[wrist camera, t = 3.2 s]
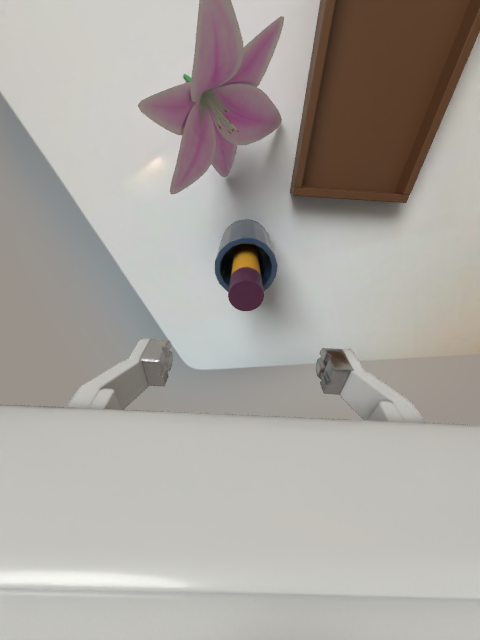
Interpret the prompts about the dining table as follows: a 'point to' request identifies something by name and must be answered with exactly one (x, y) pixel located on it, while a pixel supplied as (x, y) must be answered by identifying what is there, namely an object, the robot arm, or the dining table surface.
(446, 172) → the dining table surface
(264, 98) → the lily
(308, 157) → the desk tray
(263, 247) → the pen cup
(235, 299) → the glue stick
